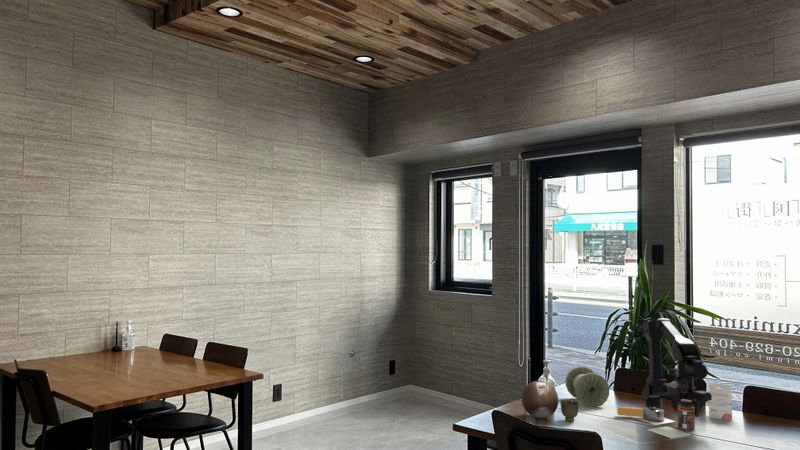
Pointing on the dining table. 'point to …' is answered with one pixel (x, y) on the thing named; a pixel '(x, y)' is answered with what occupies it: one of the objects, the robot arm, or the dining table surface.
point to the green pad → (669, 432)
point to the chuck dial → (643, 413)
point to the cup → (569, 409)
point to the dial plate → (654, 422)
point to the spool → (587, 387)
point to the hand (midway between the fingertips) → (686, 413)
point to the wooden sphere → (540, 399)
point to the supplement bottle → (686, 415)
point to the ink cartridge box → (720, 402)
